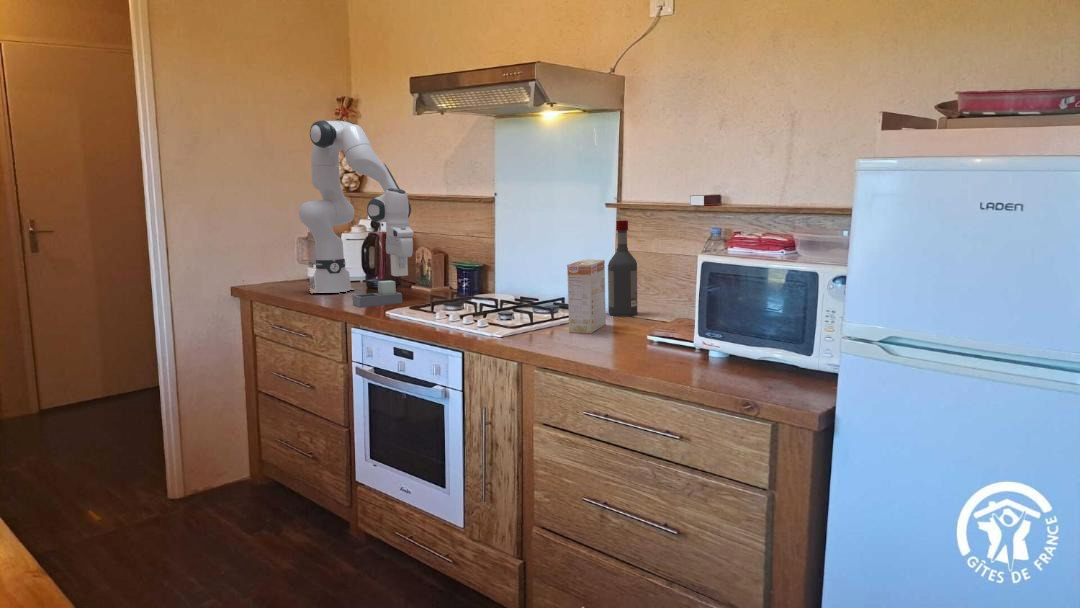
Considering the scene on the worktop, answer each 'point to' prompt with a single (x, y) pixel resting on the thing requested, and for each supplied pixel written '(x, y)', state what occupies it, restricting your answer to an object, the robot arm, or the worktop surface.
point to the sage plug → (386, 287)
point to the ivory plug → (395, 266)
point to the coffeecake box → (586, 295)
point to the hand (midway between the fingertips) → (399, 267)
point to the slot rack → (376, 299)
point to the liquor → (622, 277)
